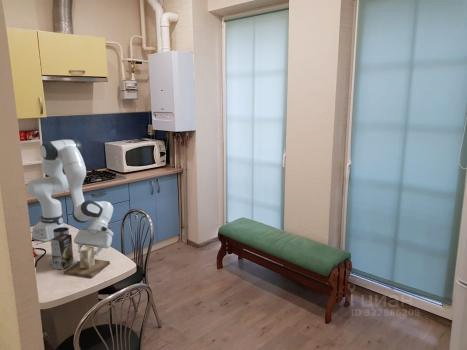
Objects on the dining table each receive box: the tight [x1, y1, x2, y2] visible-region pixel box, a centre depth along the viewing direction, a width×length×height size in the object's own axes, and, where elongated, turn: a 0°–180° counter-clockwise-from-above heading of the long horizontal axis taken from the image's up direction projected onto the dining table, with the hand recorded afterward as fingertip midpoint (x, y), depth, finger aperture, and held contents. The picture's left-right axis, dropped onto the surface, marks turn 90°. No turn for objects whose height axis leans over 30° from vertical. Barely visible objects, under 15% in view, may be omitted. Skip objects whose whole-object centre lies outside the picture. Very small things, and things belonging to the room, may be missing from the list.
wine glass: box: [53, 226, 70, 238], centre depth 205 cm, size 8×8×15 cm
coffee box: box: [50, 233, 74, 270], centre depth 192 cm, size 9×6×16 cm
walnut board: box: [64, 258, 111, 279], centre depth 191 cm, size 16×16×2 cm
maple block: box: [78, 245, 95, 269], centre depth 189 cm, size 5×5×10 cm
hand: (87, 253), depth 189 cm, fingers open, 8 cm apart
